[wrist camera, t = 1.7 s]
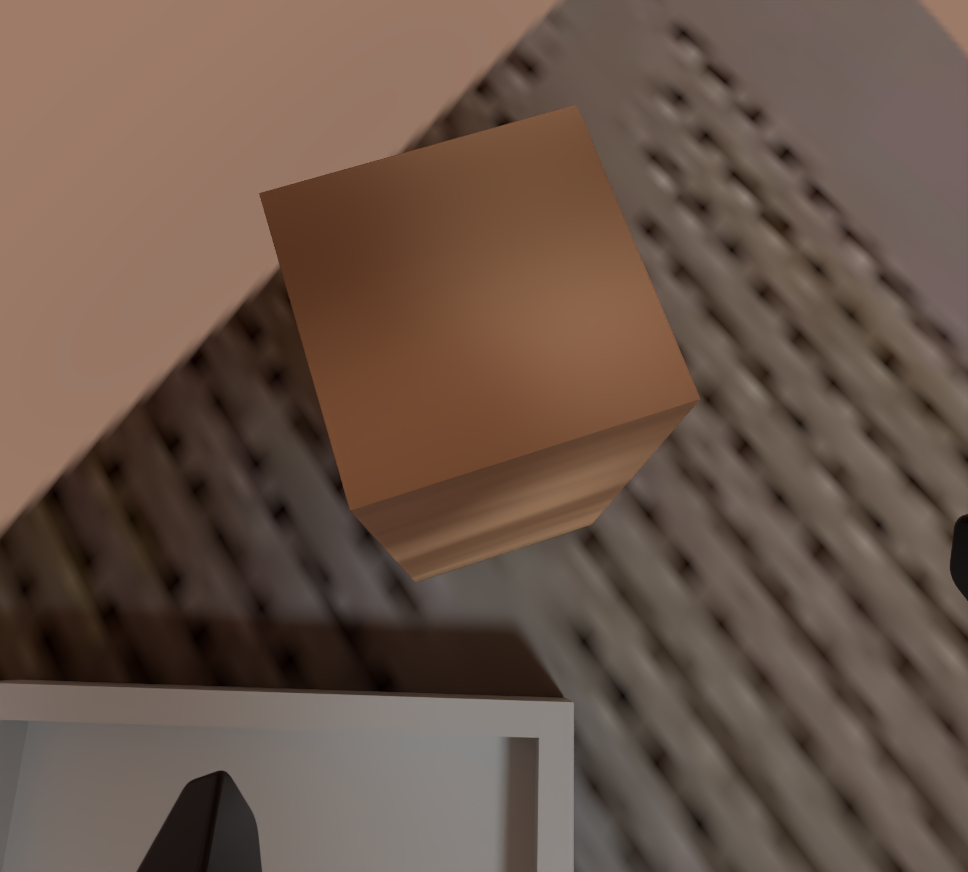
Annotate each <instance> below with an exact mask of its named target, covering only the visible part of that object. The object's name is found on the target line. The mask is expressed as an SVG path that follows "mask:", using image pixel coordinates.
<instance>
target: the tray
mask: <svg viewBox="0 0 968 872" xmlns="http://www.w3.org/2000/svg"><path fill="white" fill-rule="evenodd" d="M221 770H223V771H226V772H227V773H228V774H229V775H230V776H231V777H232V779H233V781H234V782H235V784H236V785H237V787H238V789H239V790H240V792H241V794H242V795H243V797H244V798H245V800H246V802H247V803H248V805H249V807H250V808H251V810H252V812H253V814H254V816H255V819H256V823H257V827H258V834H259V844H260V854H261V864H262V872H574V702H572V701H570V700H568V699H566V698H559V697H529V696H499V695H469V694H439V693H409V692H379V691H349V690H319V689H289V688H260V687H230V686H200V685H170V684H140V683H110V682H80V681H50V680H4V681H0V872H136V871H137V869H138V868H139V866H140V864H141V862H142V861H143V859H144V857H145V855H146V853H147V852H148V850H149V848H150V846H151V845H152V843H153V841H154V839H155V837H156V836H157V834H158V832H159V830H160V829H161V827H162V825H163V823H164V821H165V820H166V818H167V816H168V814H169V813H170V811H171V809H172V807H173V805H174V804H175V802H176V800H177V798H178V797H179V795H180V793H181V791H182V790H183V788H184V787H185V785H186V784H187V783H188V782H190V781H191V780H193V779H195V778H198V777H201V776H204V775H207V774H210V773H213V772H216V771H221Z"/></svg>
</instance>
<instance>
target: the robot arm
mask: <svg viewBox="0 0 968 872" xmlns="http://www.w3.org/2000/svg"><path fill="white" fill-rule="evenodd" d="M950 572H951V576H952V579H953V581H954V583H955V585H956V586H957V588H958V589H959V590H960V592H961V593H962V594H963V595H964V597H965V598H966V599H967V601H968V514H966V515H963V516H961V517H960V518H958V520H957V521H956V523H955V526H954V532H953V541H952V550H951V559H950ZM136 872H262V864H261V854H260V844H259V834H258V827H257V823H256V819H255V816H254V814H253V812H252V810H251V808H250V807H249V805H248V803H247V802H246V800H245V798H244V797H243V795H242V794H241V792H240V790H239V789H238V787H237V785H236V784H235V782H234V781H233V779H232V777H231V776H230V775H229V774H228V773H227V772H226V771H223V770H221V771H216V772H213V773H210V774H207V775H204V776H201V777H198V778H195V779H193V780H191V781H190V782H188V783H187V784H186V785H185V787H184V788H183V790H182V791H181V793H180V795H179V797H178V798H177V800H176V802H175V804H174V805H173V807H172V809H171V811H170V813H169V814H168V816H167V818H166V820H165V821H164V823H163V825H162V827H161V829H160V830H159V832H158V834H157V836H156V837H155V839H154V841H153V843H152V845H151V846H150V848H149V850H148V852H147V853H146V855H145V857H144V859H143V861H142V862H141V864H140V866H139V868H138V869H137V871H136Z"/></svg>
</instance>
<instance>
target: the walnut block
mask: <svg viewBox="0 0 968 872" xmlns="http://www.w3.org/2000/svg"><path fill="white" fill-rule="evenodd" d="M260 198H261V201H262V204H263V208H264V212H265V215H266V218H267V222H268V225H269V229H270V232H271V236H272V239H273V243H274V247H275V250H276V254H277V257H278V261H279V264H280V268H281V271H282V274H283V278H284V281H285V285H286V288H287V292H288V295H289V299H290V302H291V306H292V309H293V313H294V316H295V320H296V323H297V327H298V330H299V334H300V337H301V341H302V344H303V348H304V351H305V355H306V358H307V362H308V365H309V369H310V372H311V376H312V379H313V383H314V386H315V390H316V393H317V397H318V400H319V404H320V407H321V411H322V414H323V418H324V421H325V425H326V428H327V432H328V435H329V439H330V442H331V446H332V449H333V453H334V456H335V460H336V463H337V467H338V470H339V474H340V477H341V481H342V484H343V488H344V491H345V495H346V498H347V502H348V505H349V509H350V511H351V512H352V513H353V514H354V515H355V517H356V518H357V519H358V520H359V521H360V522H361V523H362V524H363V525H364V526H365V528H366V529H367V530H368V531H369V532H370V533H371V534H372V535H373V536H374V537H375V538H376V540H377V541H378V542H379V543H380V544H381V545H382V546H383V547H384V548H385V549H386V551H387V552H388V553H389V554H390V555H391V556H392V557H393V558H394V559H395V560H396V561H397V563H398V564H399V565H400V566H401V567H402V568H403V569H404V570H405V571H406V572H407V574H408V575H409V576H410V577H411V578H412V579H413V580H414V581H415V582H419V581H422V580H425V579H428V578H431V577H434V576H437V575H440V574H443V573H446V572H449V571H452V570H455V569H458V568H461V567H464V566H467V565H470V564H473V563H476V562H479V561H482V560H485V559H488V558H492V557H495V556H498V555H501V554H504V553H507V552H510V551H513V550H516V549H519V548H522V547H525V546H528V545H531V544H534V543H537V542H540V541H543V540H546V539H549V538H552V537H555V536H558V535H561V534H564V533H567V532H570V531H573V530H576V529H579V528H583V527H586V526H589V525H591V524H592V523H593V522H594V521H595V520H596V519H597V518H598V516H599V515H600V514H601V513H602V512H603V511H604V509H605V508H606V507H607V506H608V505H609V504H610V503H611V501H612V500H613V499H614V498H615V497H616V496H617V494H618V493H619V492H620V491H621V490H622V489H623V488H624V486H625V485H626V484H627V483H628V482H629V481H630V479H631V478H632V477H633V476H634V475H635V474H636V473H637V471H638V470H639V469H640V468H641V467H642V466H643V464H644V463H645V462H646V461H647V460H648V459H649V458H650V456H651V455H652V454H653V453H654V452H655V451H656V450H657V448H658V447H659V446H660V445H661V444H662V443H663V441H664V440H665V439H666V438H667V437H668V436H669V435H670V433H671V432H672V431H673V430H674V429H675V428H676V426H677V425H678V424H679V423H680V422H681V421H682V420H683V418H684V417H685V416H686V415H687V414H688V413H689V411H690V410H691V409H692V408H693V407H694V406H695V405H696V403H697V402H698V401H699V400H700V397H699V395H698V392H697V390H696V387H695V385H694V383H693V380H692V378H691V376H690V373H689V371H688V368H687V366H686V364H685V361H684V359H683V357H682V354H681V352H680V349H679V347H678V345H677V342H676V340H675V338H674V335H673V333H672V330H671V328H670V326H669V323H668V321H667V319H666V316H665V314H664V311H663V309H662V307H661V304H660V302H659V300H658V297H657V295H656V292H655V290H654V288H653V285H652V283H651V281H650V278H649V276H648V273H647V271H646V269H645V266H644V264H643V262H642V259H641V257H640V254H639V252H638V250H637V247H636V245H635V243H634V240H633V238H632V235H631V233H630V231H629V228H628V226H627V224H626V221H625V219H624V216H623V214H622V212H621V209H620V207H619V205H618V202H617V200H616V197H615V195H614V193H613V190H612V188H611V186H610V183H609V181H608V178H607V176H606V174H605V171H604V169H603V167H602V164H601V162H600V159H599V157H598V155H597V152H596V150H595V148H594V145H593V143H592V140H591V138H590V136H589V133H588V131H587V129H586V126H585V124H584V121H583V119H582V117H581V114H580V112H579V110H578V107H577V105H574V106H570V107H567V108H563V109H559V110H556V111H552V112H549V113H545V114H542V115H538V116H534V117H531V118H527V119H524V120H520V121H516V122H513V123H509V124H506V125H502V126H499V127H495V128H491V129H488V130H484V131H481V132H477V133H474V134H470V135H466V136H463V137H459V138H456V139H452V140H448V141H445V142H441V143H438V144H434V145H431V146H427V147H423V148H420V149H416V150H413V151H409V152H406V153H402V154H398V155H395V156H391V157H388V158H384V159H381V160H377V161H373V162H370V163H366V164H363V165H359V166H355V167H352V168H348V169H345V170H341V171H338V172H334V173H330V174H327V175H324V176H320V177H316V178H313V179H309V180H305V181H302V182H298V183H295V184H291V185H287V186H284V187H280V188H277V189H273V190H270V191H266V192H263V193H260Z"/></svg>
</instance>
